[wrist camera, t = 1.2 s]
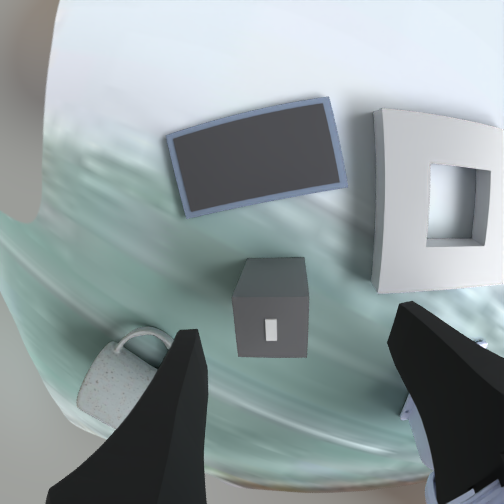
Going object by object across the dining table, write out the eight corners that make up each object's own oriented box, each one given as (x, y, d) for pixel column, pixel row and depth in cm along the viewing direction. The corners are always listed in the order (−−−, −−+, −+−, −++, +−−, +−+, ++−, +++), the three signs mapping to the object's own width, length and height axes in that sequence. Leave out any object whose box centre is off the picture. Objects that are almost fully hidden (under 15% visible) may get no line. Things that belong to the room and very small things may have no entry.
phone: (344, 185, 19) (348, 187, 18) (191, 215, 21) (185, 219, 20) (326, 99, 17) (329, 96, 16) (172, 136, 19) (165, 135, 18)
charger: (303, 307, 22) (306, 358, 16) (250, 307, 22) (237, 357, 16) (304, 257, 20) (309, 297, 15) (247, 258, 21) (231, 297, 15)
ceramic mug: (169, 408, 28) (145, 461, 20) (105, 370, 27) (71, 416, 20) (207, 349, 24) (181, 413, 17) (126, 302, 24) (78, 351, 16)
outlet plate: (491, 274, 18) (503, 283, 17) (370, 281, 20) (377, 293, 18) (502, 133, 15) (517, 133, 13) (373, 112, 16) (382, 108, 14)
